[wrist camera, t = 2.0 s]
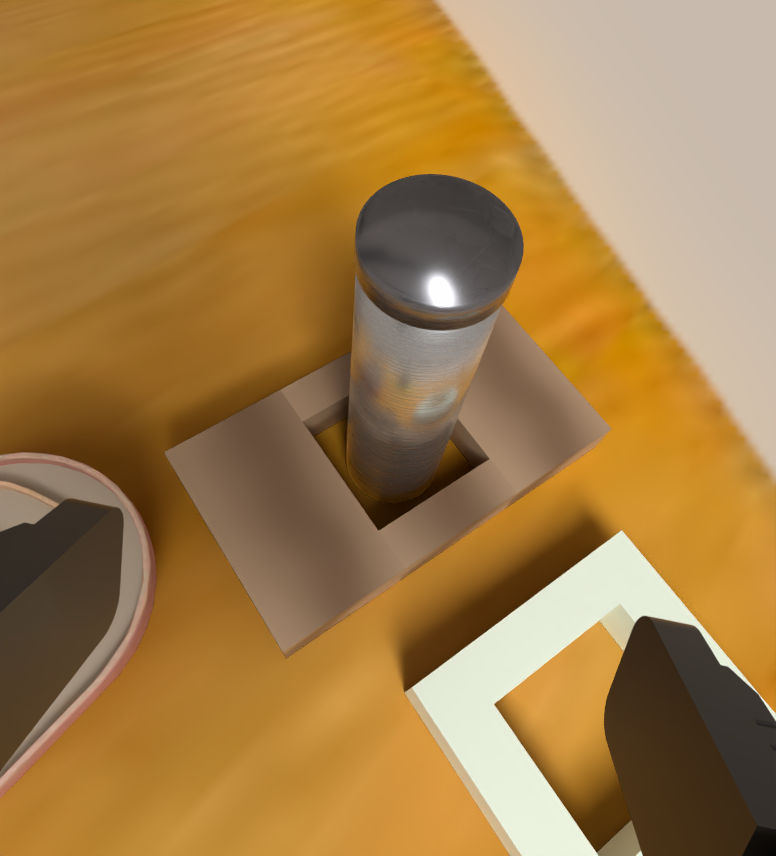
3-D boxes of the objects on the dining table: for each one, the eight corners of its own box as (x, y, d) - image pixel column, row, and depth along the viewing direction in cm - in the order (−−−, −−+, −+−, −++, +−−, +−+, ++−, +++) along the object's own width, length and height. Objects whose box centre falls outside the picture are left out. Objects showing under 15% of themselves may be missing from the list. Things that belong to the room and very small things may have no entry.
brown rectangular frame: (286, 658, 25) (282, 651, 23) (174, 471, 27) (163, 452, 26) (594, 447, 29) (611, 428, 28) (472, 306, 32) (481, 281, 30)
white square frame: (404, 692, 24) (411, 687, 22) (597, 547, 27) (621, 530, 25) (581, 965, 21) (610, 991, 19) (777, 767, 24) (823, 770, 22)
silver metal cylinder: (326, 446, 29) (322, 213, 16) (403, 401, 30) (455, 153, 17) (379, 522, 27) (421, 334, 15) (457, 472, 28) (557, 259, 16)
